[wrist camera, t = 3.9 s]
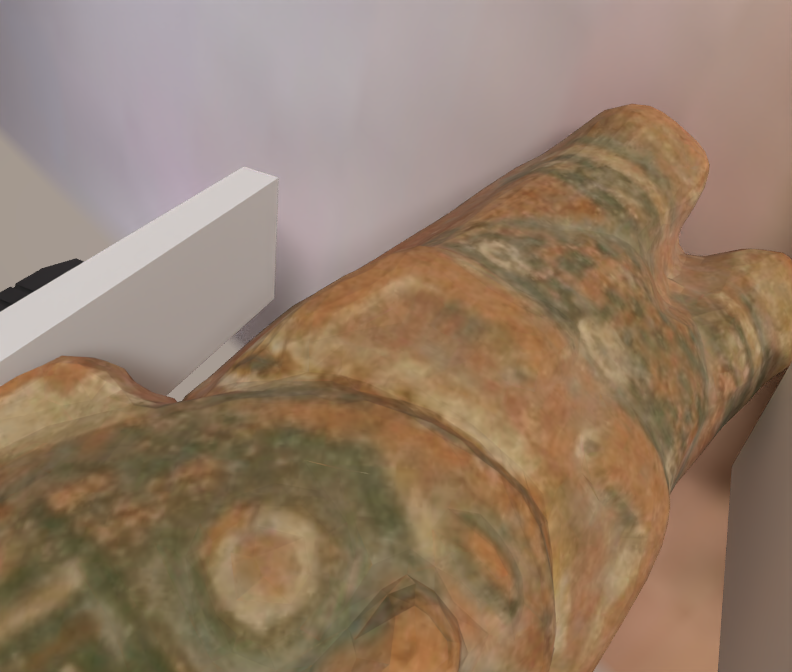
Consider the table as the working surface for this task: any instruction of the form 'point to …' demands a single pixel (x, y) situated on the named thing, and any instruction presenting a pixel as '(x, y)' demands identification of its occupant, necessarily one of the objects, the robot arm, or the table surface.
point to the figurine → (403, 443)
